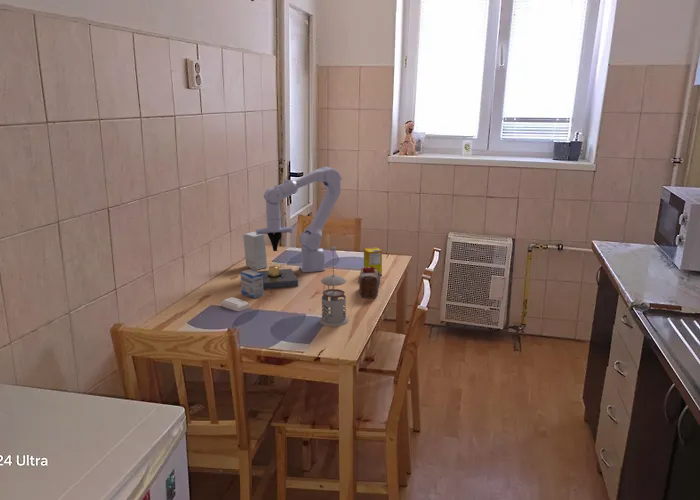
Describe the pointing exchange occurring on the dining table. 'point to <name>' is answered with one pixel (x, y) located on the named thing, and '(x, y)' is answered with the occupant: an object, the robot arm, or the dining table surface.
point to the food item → (369, 282)
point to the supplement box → (373, 258)
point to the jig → (278, 279)
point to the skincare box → (255, 250)
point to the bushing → (273, 271)
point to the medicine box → (252, 283)
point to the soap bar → (235, 304)
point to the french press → (333, 301)
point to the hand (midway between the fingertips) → (275, 250)
